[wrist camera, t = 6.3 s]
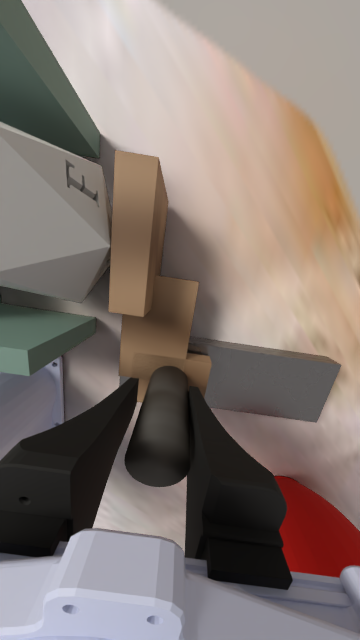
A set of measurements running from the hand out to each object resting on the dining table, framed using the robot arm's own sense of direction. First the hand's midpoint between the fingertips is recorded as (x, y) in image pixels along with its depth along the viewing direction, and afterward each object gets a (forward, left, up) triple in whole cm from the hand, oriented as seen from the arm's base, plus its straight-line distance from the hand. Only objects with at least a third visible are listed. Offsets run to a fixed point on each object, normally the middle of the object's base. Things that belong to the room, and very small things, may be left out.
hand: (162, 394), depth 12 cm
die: (+10, +8, -4) cm, 13 cm away
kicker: (+6, 0, -4) cm, 7 cm away
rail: (0, -5, -4) cm, 7 cm away
